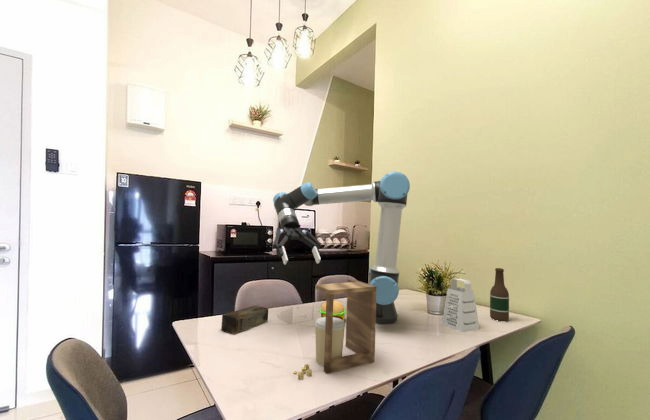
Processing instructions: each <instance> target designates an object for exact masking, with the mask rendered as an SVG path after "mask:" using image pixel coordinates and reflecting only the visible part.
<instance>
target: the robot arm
mask: <svg viewBox="0 0 650 420" xmlns="http://www.w3.org/2000/svg"><path fill="white" fill-rule="evenodd" d="M410 187H411V185H410V181H409V178H408V177H407V175H405V174H404V173H402V172H401V171H390V172H388V173H385V174H384V175H383V176H382V177H381V179H380V180H377V181H372V182H371V183H369V184H358V185H346V186H336V187H335V186H334V187H326V188H324V187H323V188H315V187H314V186H313V184H312V183H311V182H310V181H307V182H305V183H302V184H301V185H300V186H298V187H297V188H295V189H293V190H292V191H290V192H288V193H287V192H283V191H282V192H278V193H276V194H275V195H274V196H273V199H272V201H273V206H274V210H275V212H276V215H277V218H278V221H279V224H280V227H277V228H276V231H275V238H274V239H273V240H274V241H273V244H272V246H271V249H272V250H275V251H276V252H277V253H278V256H279V257H281V259H282V262H283V265H287V263H288V262H289V259H288V255H287V252H286V248H285V246H284V245H285V244H286V242H287V241H288V240H291V241H293V240H294V241H297V240H298V241H299V242H301V243H304V244H305V245H307V246H308V247H309V248H311V251H312V256H313V258H314V259H315V263H316V264H320V262H321V258H322V257H321V256H320V254H321V252H320V248H321V246H322V243H321V242H320V241H319V240H318V239H317V238H316V237H315V236H314V235H313V234H312V233H311V232H310V230H309V229H308V228H307V227H306V228H305V229H302V228H301V225H300V222H299V220H298V217H297V214H296V212H295V211H296V209H298V208H299V207H301V206H303V205H304V206H306V207H312V206H317V205H328V204H341V203H355V202H356V203H357V202H365V201H373V202H374V203H377V204H378V205H379V206H380V215H379V223H378V224H379V226H378V233H377V242H376V244H377V245H376V253H375V259H374V260H375V261H374V265H372V266H371V267H369V270H368V274H367V275H368V284H370V285H373V286H377V288H376V324H383V325H384V324H385V325H387V324H388V325H389V324H394V323H397V322H398V320H399V319H398V315H399V314H398V313H397V308H396V306H395V301H396V300H397V298H398V296H399V294H400V289H399V278H400V271H399V270H398V268H397V263H398V262H397V261H398V251H399V240H400V232H401V224H402V223H401V222H402V215H403V214H402V213H403V210H404V209H405V208H406V207H407V204H408V203H407V202H408V194H409V193H410V190H411V189H410ZM280 235H284V237H283V238H282V240H281V241H280V242H279V239H280ZM278 242H279V243H278Z"/></svg>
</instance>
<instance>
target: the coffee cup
mask: <svg viewBox="0 0 650 420" xmlns="http://www.w3.org/2000/svg"><path fill="white" fill-rule="evenodd" d="M325 323H326V317H322V318H321V317H318V318H316V320H315V323H314V326H315V332H314V333H315V358H316V359H315V360H316V363H317V364H318V365H320V366H323V367H324V352H325ZM345 330H346V323H345V320H342V319H340V318H336V317H333V329H332V359H333V358H338V357H343V350H344V349H343V348H344V340H345V339H344V337H345Z"/></svg>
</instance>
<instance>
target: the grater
mask: <svg viewBox="0 0 650 420" xmlns="http://www.w3.org/2000/svg"><path fill="white" fill-rule="evenodd" d="M458 281H460V282H463V283H464V288H463V287H459V286H458ZM475 296H476V295H475V290H472V283H471V282H470V280H468V279H462V278H452V279H451V280H450V287H448V288H447V291H446V297H445V304H444V310H443V315H442V321H441V325H444V326H446V327H449V328H452V329H454V330H457V331H459V332H469V331H474V330H475V329H476V330H480V323H479V316H478V309H477V304H476V303H477V302H476V297H475ZM467 324H468V325H467ZM476 330H475V331H476Z"/></svg>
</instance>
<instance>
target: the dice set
mask: <svg viewBox="0 0 650 420" xmlns="http://www.w3.org/2000/svg"><path fill="white" fill-rule="evenodd" d="M312 372H313V371H312V369H311V368H310V364H308V363H306V364H304V365H303V367H301V371H300V372H299V371H297V370H295V371H293V372H292V374H294V375H297V379H298V380H300V381H301V380H304V374H306V377H308V378H309V377H312V374H313V373H312Z"/></svg>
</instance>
